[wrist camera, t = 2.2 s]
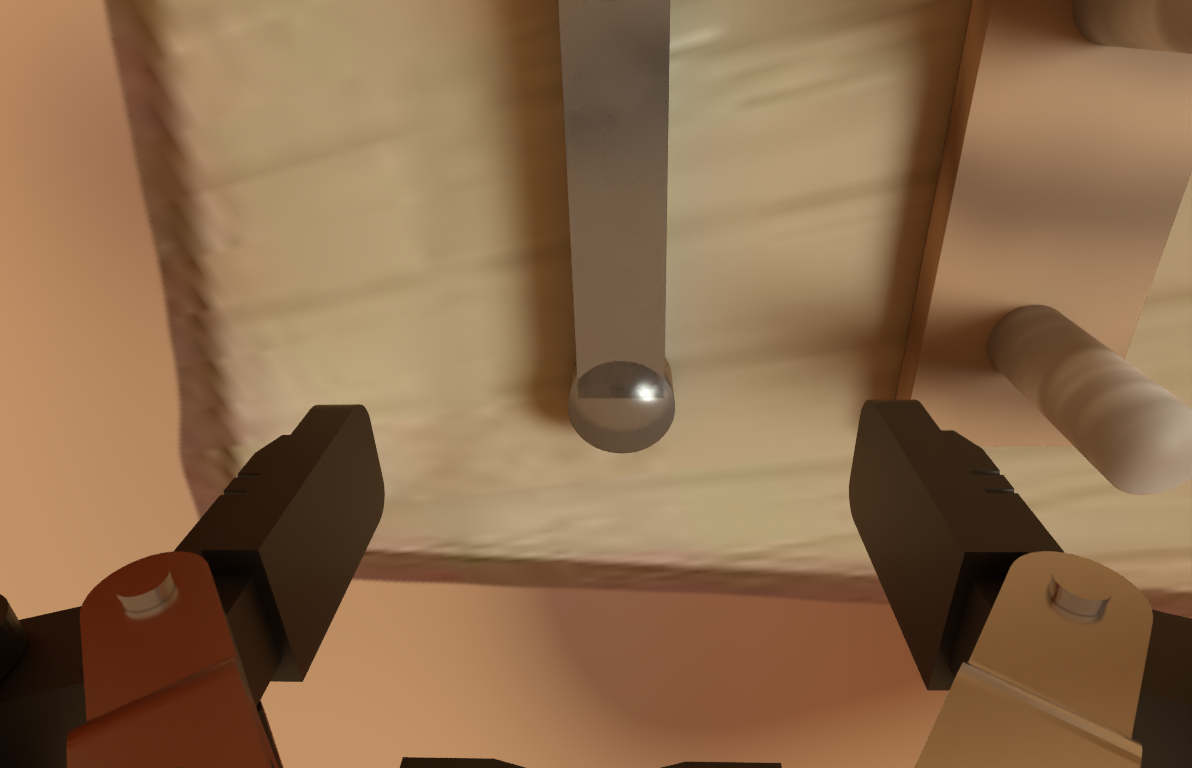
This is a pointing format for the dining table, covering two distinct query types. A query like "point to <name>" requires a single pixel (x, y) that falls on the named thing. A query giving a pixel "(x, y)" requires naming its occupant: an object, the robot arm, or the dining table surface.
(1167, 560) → the dining table surface
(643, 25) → the grey knobbed bar
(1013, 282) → the peg stand
